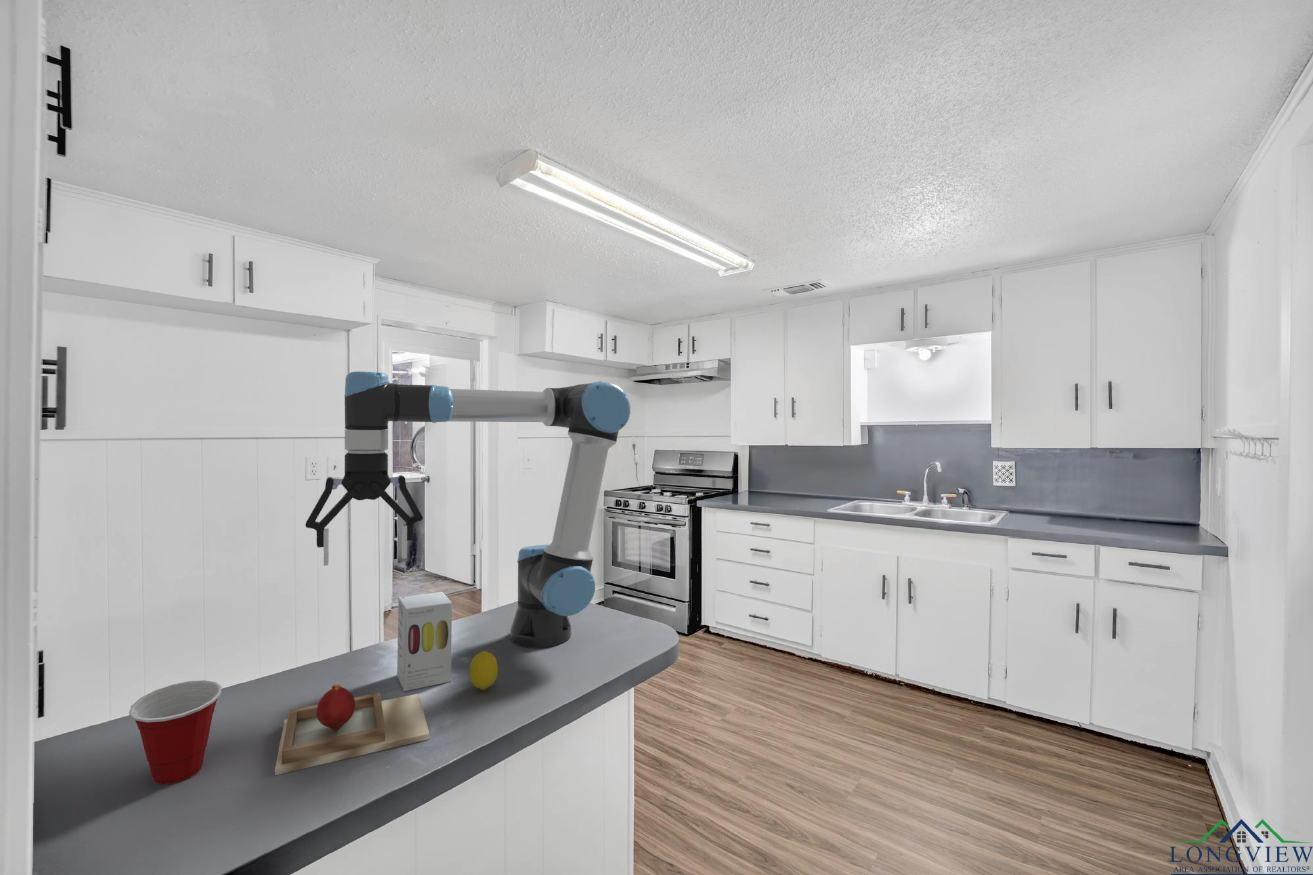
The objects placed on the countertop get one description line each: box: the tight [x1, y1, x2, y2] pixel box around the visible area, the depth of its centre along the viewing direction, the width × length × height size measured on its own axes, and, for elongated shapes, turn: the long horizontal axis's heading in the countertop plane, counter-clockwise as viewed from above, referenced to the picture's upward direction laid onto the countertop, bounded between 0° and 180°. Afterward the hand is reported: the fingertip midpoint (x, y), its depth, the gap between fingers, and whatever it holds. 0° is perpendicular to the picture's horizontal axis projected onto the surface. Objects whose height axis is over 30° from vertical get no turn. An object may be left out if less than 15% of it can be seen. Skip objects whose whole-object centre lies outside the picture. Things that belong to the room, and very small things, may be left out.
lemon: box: [468, 650, 499, 691], centre depth 116 cm, size 6×6×8 cm
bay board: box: [274, 692, 430, 776], centre depth 100 cm, size 22×16×3 cm
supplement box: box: [396, 591, 453, 692], centre depth 121 cm, size 10×9×17 cm
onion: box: [316, 683, 355, 730], centre depth 98 cm, size 6×6×8 cm
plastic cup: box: [128, 679, 222, 785], centre depth 87 cm, size 11×11×12 cm
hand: (366, 560), depth 112 cm, fingers open, 13 cm apart
